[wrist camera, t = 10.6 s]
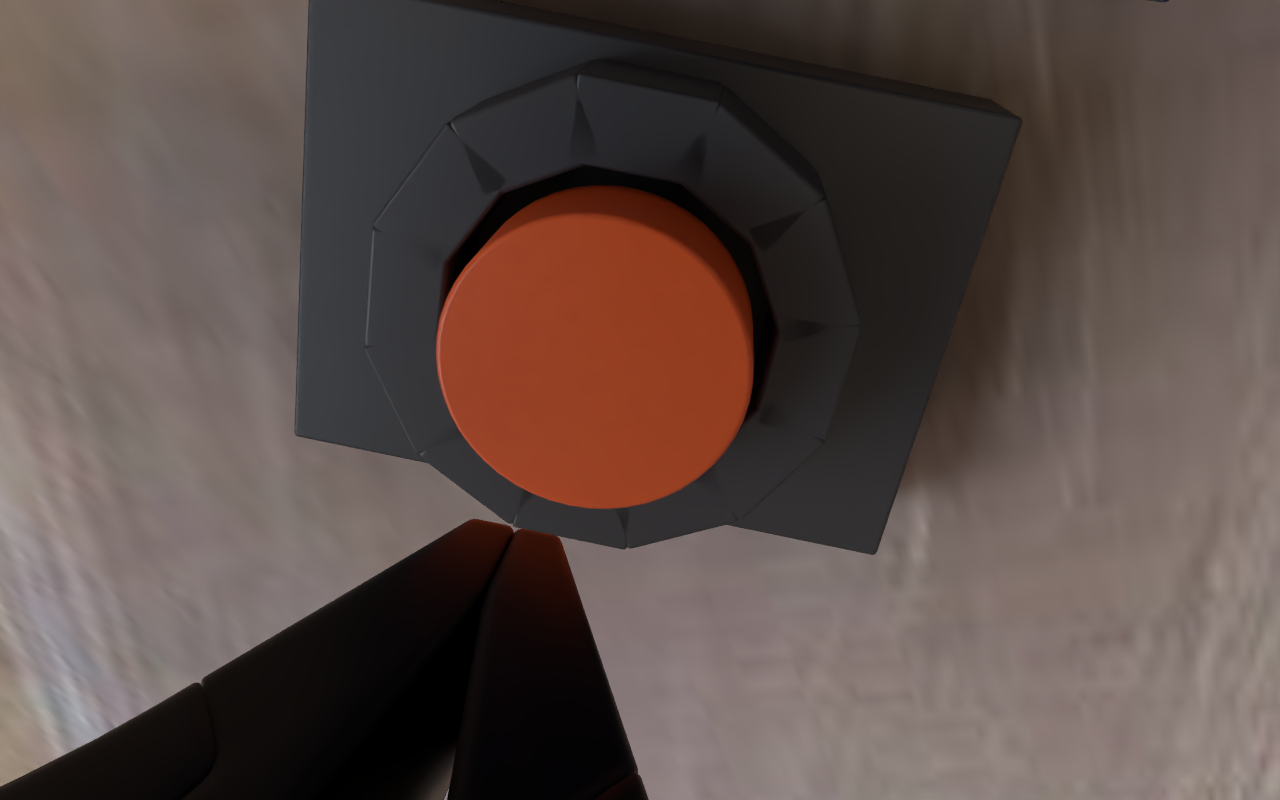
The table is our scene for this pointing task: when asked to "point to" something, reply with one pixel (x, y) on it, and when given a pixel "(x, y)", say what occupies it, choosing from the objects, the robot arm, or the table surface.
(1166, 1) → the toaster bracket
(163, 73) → the table surface
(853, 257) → the button housing
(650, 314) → the orange button
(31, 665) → the table surface
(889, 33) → the table surface
